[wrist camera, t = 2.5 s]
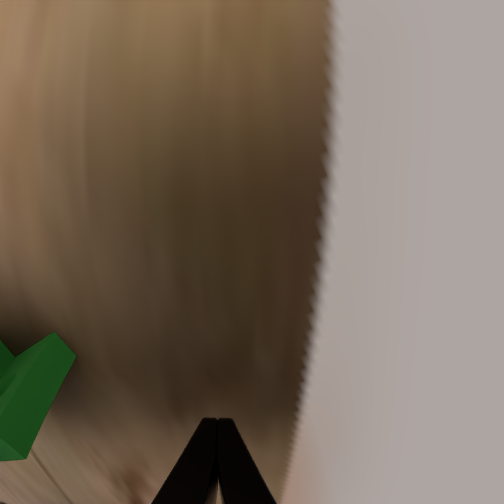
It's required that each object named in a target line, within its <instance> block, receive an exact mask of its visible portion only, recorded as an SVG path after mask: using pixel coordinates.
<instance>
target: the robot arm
mask: <svg viewBox="0 0 504 504" xmlns="http://www.w3.org/2000/svg"><path fill="white" fill-rule="evenodd" d="M218 477H219V487H220V494H221V500H222V504H277V503H276V501H275V500H274V498H273V496H272V494H271V492H270V491H269V489H268V487H267V485H266V483H265V481H264V480H263V478H262V476H261V474H260V472H259V470H258V468H257V466H256V465H255V463H254V461H253V459H252V457H251V455H250V453H249V451H248V449H247V447H246V445H245V443H244V441H243V439H242V437H241V435H240V433H239V431H238V429H237V427H236V425H235V423H234V421H233V419H231V418H219V419H218V420H217V418H207V417H205V418H203V419H202V420H201V422H200V424H199V425H198V427H197V429H196V430H195V432H194V434H193V436H192V437H191V439H190V441H189V442H188V444H187V446H186V447H185V449H184V451H183V452H182V454H181V456H180V457H179V459H178V461H177V462H176V464H175V466H174V467H173V469H172V471H171V472H170V474H169V476H168V477H167V479H166V481H165V482H164V484H163V485H162V487H161V489H160V490H159V492H158V494H157V495H156V497H155V498H154V500H153V502H152V503H151V504H216V497H217V490H218Z"/></svg>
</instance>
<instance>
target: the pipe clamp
mask: <svg viewBox="0 0 504 504" xmlns="http://www.w3.org/2000/svg"><path fill="white" fill-rule="evenodd" d="M75 358H76V355H75V354H74V353H73V352H72V351H71V349H70V348H69V347H68V346H67V345H66V344H65V343H64V342H63V341H62V339H61V338H60V337H59V336H58V335H57V334H56V333H55V331H54V332H53V333H51V334H50V335H48V336H47V337H45V338H44V339H42V340H40V341H39V342H37V343H36V344H34V345H33V346H31V347H30V348H28V349H27V350H25V351H24V352H22V353H21V354H19V355H18V356H16V357H15V356H14V355H13V354H12V353H11V352H10V351H9V350H8V348H7V347H6V346H5V345H4V344H3V343H2V341H1V340H0V461H11V460H23V459H26V458H27V456H28V454H29V451H30V449H31V447H32V445H33V442H34V440H35V438H36V436H37V434H38V431H39V429H40V427H41V425H42V423H43V421H44V419H45V416H46V414H47V412H48V410H49V408H50V406H51V404H52V402H53V400H54V398H55V396H56V394H57V392H58V390H59V388H60V386H61V384H62V383H63V381H64V379H65V377H66V375H67V373H68V371H69V369H70V367H71V366H72V364H73V362H74V360H75Z"/></svg>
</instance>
